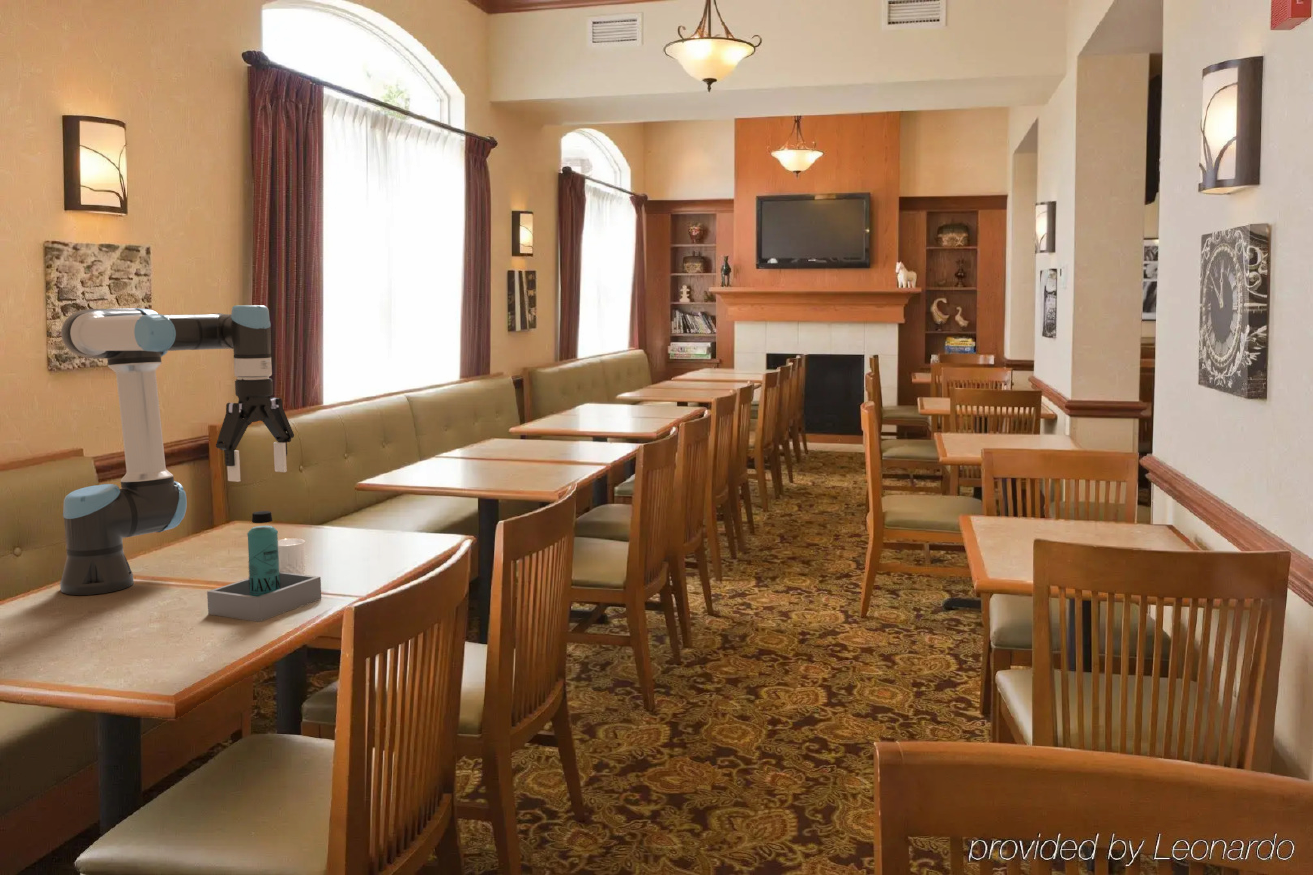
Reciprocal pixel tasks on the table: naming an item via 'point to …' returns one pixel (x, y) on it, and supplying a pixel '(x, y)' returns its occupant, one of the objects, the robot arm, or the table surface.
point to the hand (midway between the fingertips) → (258, 476)
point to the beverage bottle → (263, 556)
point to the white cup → (291, 556)
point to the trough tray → (263, 598)
